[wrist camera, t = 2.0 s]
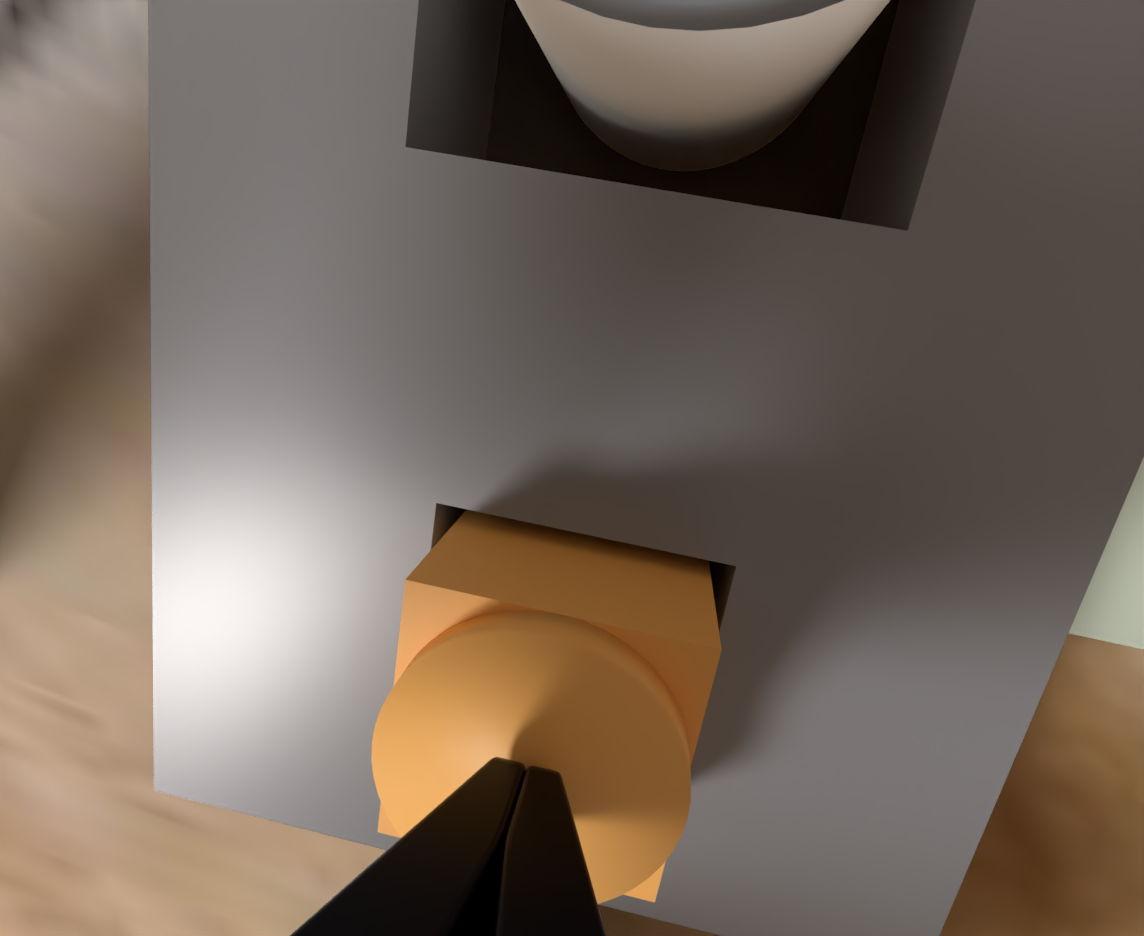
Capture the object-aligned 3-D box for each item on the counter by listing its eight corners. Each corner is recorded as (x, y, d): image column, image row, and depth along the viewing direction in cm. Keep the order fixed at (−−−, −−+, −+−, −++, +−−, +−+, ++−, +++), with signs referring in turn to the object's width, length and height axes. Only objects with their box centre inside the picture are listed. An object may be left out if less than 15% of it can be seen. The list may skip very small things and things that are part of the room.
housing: (856, 810, 15) (917, 986, 12) (272, 672, 17) (154, 790, 13) (1255, -313, 10) (1635, -695, 6) (327, -404, 11) (142, -775, 7)
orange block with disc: (658, 722, 13) (654, 943, 9) (459, 676, 14) (359, 865, 9) (704, 532, 12) (725, 676, 8) (486, 487, 12) (386, 601, 8)
